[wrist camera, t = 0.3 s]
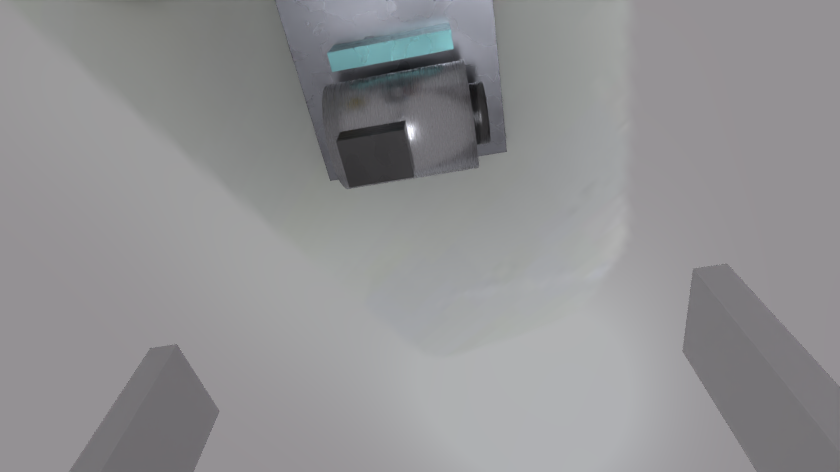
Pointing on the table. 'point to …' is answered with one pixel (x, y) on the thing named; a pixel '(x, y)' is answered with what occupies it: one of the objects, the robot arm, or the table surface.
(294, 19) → the motor unit
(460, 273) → the table surface
